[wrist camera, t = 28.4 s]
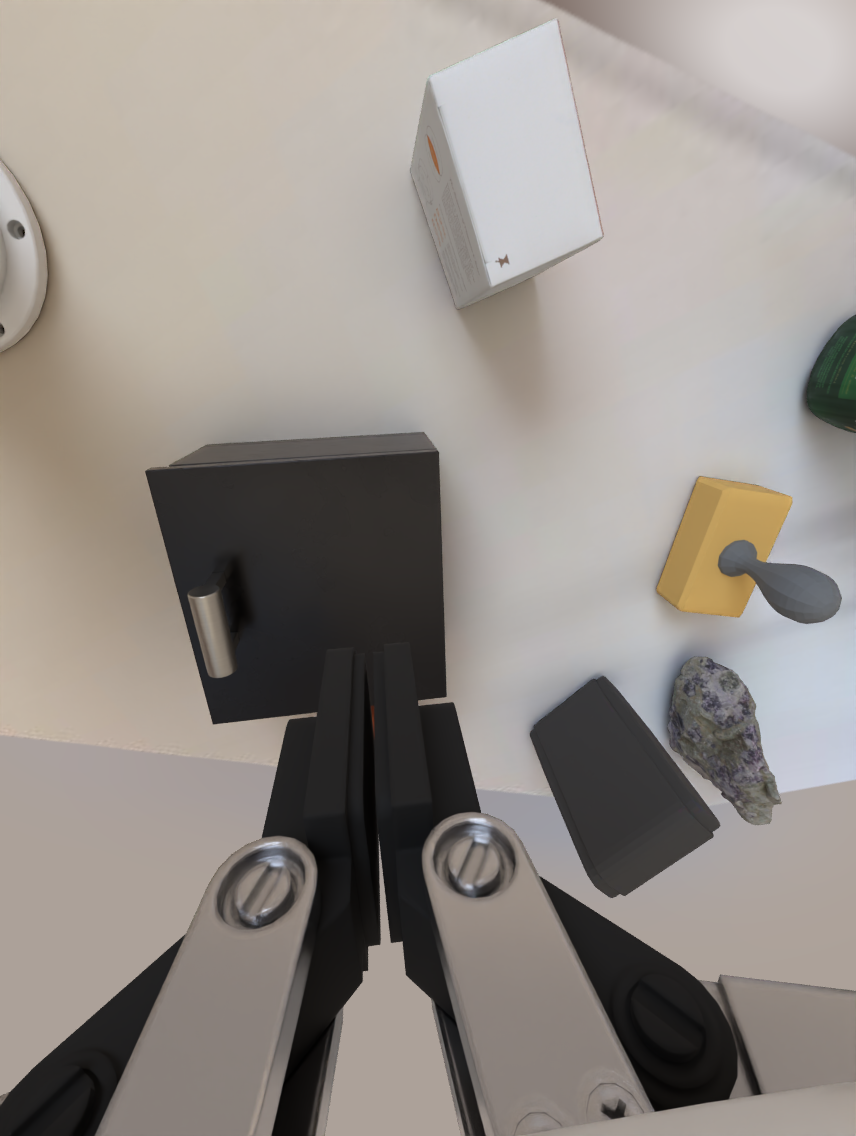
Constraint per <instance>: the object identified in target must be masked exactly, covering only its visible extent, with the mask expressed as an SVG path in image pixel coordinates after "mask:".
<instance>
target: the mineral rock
mask: <svg viewBox="0 0 856 1136" xmlns="http://www.w3.org/2000/svg"><path fill="white" fill-rule="evenodd" d="M681 673H682V674H681V675H680V676H679V677H678V678H676V680H675V685H674V695H673V697H672V705H671V707H670V712H669V714H670V716H671V717H670V719H671V721H670V722H669V724H668V730H669V732H670V734H671V736H670V746H671V748H672V749H673V750H674V751H676V752H678V753H679V754H680V755H681V756H682V757H683V760H684V761H685V762H686V763H687V764H688V765H690V766H691V767H692V768H694V769H695V770H696V771H697V772H698V773H699V774H701V775H702V777H703V778H704V779H707V780H710V781H711V782H712V784H713V785H714V786H715V787H717V788H719V789H720V790H721V791H722V793H721V795H722V796H723V797H724V798H725V799H727V800H728V801H730V802H731V803H732V804H733V806H734V807H735V808H736V810H737V812H738V813H739V814H740V816H741V817H742V818H743V819H744V820H745V821H747V822H749V823H751V824H753V825H763V824H770V822H771V820H772V808H773V806H774V805H775V804H781V799H780V796H779V793H778V790H777V785H776V782H775V776H774V775H773V774H772V773H771V772H770V771H769V766H768V764H767V762H766V760H765V759H764V756H763V750H762V746H761V737H760V729H759V724H758V722H757V720H756V717H755V709H756V704H755V702H754V700H753V698H752V697H751V695H750V693H749V691H748V688H747V687H746V686H745V685H744V683H743V682H742V681H741V680H740V678H739V676H738V675H737V674H736V673H735V672H734V671H733V670H730V669H728V668H726V667H724V666H722V665H720V664H717V663H714V662H713V661H712V659H710V658H708V657H693V658H691V659H689V660H688V661H687V662H686V663H685V665H684V666H683V668H682V670H681Z"/></svg>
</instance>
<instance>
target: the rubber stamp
mask: <svg viewBox="0 0 856 1136" xmlns="http://www.w3.org/2000/svg"><path fill="white" fill-rule="evenodd" d="M791 505H792V497H791V496H788V495H785V494H782V493H779V492H776V491H773V490H770V489H767V488H764V487H761V486H758V485H752V484H746V483H740V482H733V481H727V480H721V479H714V478H708V477H702V476H700V477H699V478H698V480H697V482H696V485H695V487H694V490H693V493H692V495H691V498H690V501H689V503H688V506H687V509H686V511H685V514H684V517H683V519H682V522H681V525H680V527H679V530H678V533H677V535H676V538H675V541H674V543H673V546H672V549H671V551H670V554H669V557H668V559H667V562H666V565H665V567H664V570H663V573H662V575H661V578H660V581H659V583H658V586H657V589H656V590H657V593H658V594H660V595H661V596H662V597H663V598H665V599H666V600H667V601H668V602H669V603H671V604H672V605H673V606H674V607H676V608H677V609H678V610H680V611H683V612H692V613H702V614H711V615H720V616H730V617H740V615H741V614H742V613H743V611H744V609H745V606H746V604H747V602H748V600H749V598H750V595H751V593H752V591H753V589H754V587H755V584H757V585H758V587H759V588H760V590H761V592H762V594H763V595H764V597H765V598H766V600H767V601H768V603H769V604H770V605H771V607H772V608H773V609H774V610H776V611H777V612H778V613H780V614H781V615H783V616H785V617H787V618H790V619H792V620H794V621H797V622H799V623H805V624H809V623H818V622H823V621H825V620H827V619H829V618H831V617H832V616H834V615H835V614H836V612H837V611H838V610H839V608H840V604H841V600H842V597H841V594H840V591H839V588H838V586H837V584H836V583H835V581H834V580H833V579H831V578H830V577H829V576H827V575H825V574H823V573H821V572H819V571H817V570H815V569H813V568H810V567H807V566H803V565H796V564H776V563H767V562H766V560H767V558H768V556H769V554H770V551H771V549H772V547H773V545H774V543H775V540H776V538H777V536H778V534H779V532H780V529H781V527H782V525H783V523H784V521H785V518H786V516H787V514H788V512H789V510H790V507H791Z"/></svg>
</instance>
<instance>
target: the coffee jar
mask: <svg viewBox="0 0 856 1136" xmlns="http://www.w3.org/2000/svg"><path fill="white" fill-rule="evenodd" d="M807 404H808V406H809V409H810V410H811V412H812V413H813V414H814V415H816V416H817V417H818V418H820V419H822V420H823V421H825V422H827V423H829V424H831V425H833V426H835V427H838V428H841V429H844V430H847V431H850V432H854V433H856V315H854V316H853V317H851V318H850V319H848V320H847V321H846V322H844V323H843V324H842V325H841V326H840V327H839V328H838V330H837V331H836V332H835V333H834V335H833V336H832V337H831V339H830V340H829V341H828V342H827V344H826V345H825V347H824V349H823V351H822V352H821V354H820V355H819V357H818V359H817V361H816V364H815V366H814V368H813V370H812V373H811V376H810V380H809V383H808V387H807Z"/></svg>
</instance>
